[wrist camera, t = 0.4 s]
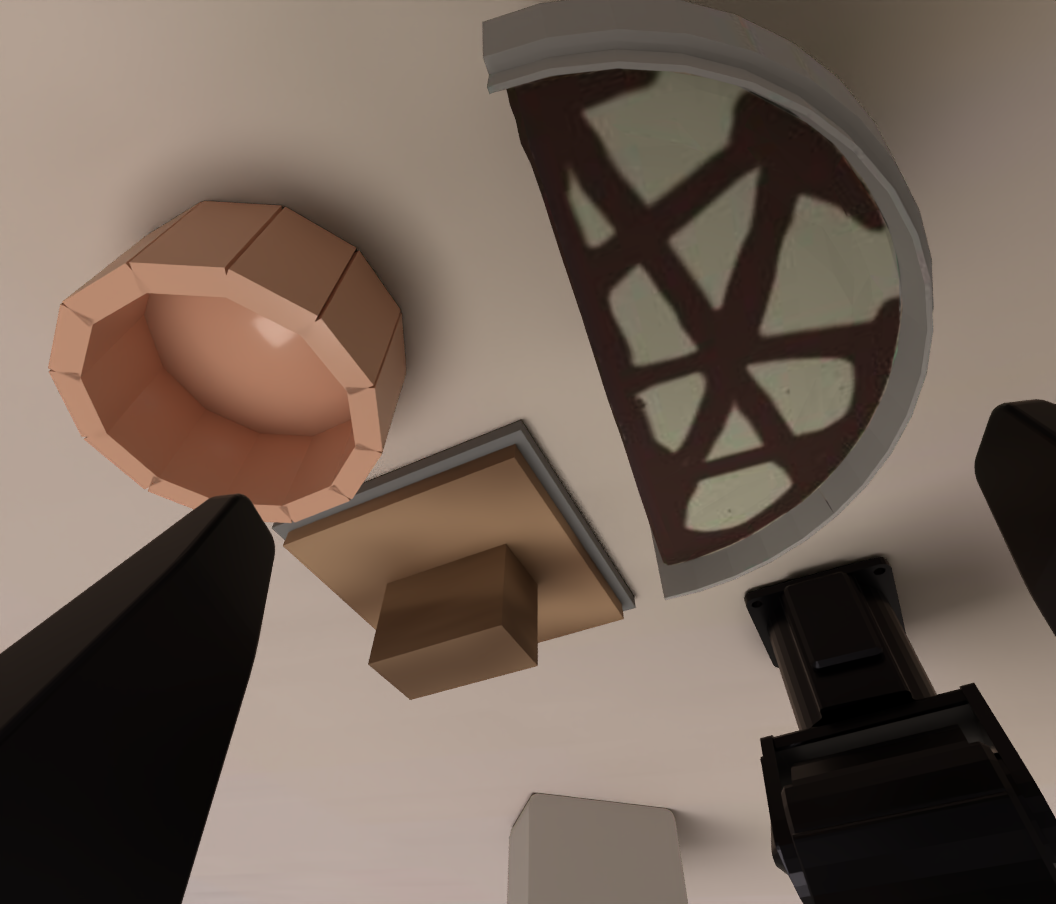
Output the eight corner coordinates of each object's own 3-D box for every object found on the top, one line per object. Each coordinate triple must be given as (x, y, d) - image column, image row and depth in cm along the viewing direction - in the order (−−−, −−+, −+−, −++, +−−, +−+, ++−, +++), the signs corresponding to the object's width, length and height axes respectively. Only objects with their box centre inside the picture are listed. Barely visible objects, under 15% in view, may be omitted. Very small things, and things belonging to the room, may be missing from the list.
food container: (802, 333, 22) (948, 559, 14) (625, 382, 23) (669, 613, 15) (761, -129, 14) (1024, -195, 6) (504, -16, 16) (470, 40, 8)
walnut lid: (621, 604, 30) (633, 699, 27) (427, 660, 33) (413, 751, 30) (515, 443, 24) (510, 537, 20) (288, 531, 27) (249, 626, 24)
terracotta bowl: (452, 385, 23) (437, 466, 20) (262, 467, 26) (220, 552, 22) (287, 147, 18) (228, 200, 15) (72, 281, 21) (-22, 352, 17)
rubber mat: (634, 597, 31) (635, 607, 30) (425, 657, 34) (424, 667, 34) (520, 420, 24) (520, 429, 24) (276, 518, 28) (271, 528, 27)
